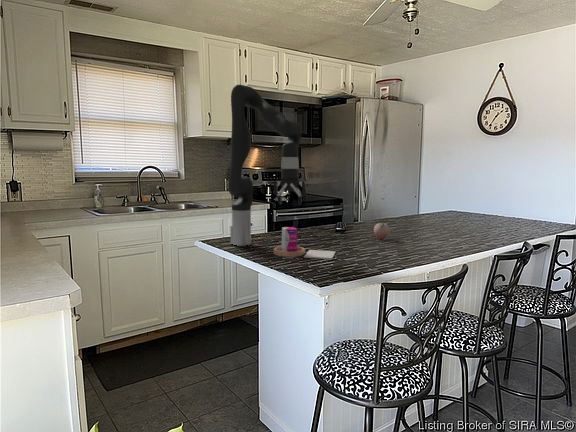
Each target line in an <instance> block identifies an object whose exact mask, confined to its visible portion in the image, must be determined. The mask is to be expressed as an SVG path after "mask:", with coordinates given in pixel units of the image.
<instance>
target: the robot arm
mask: <svg viewBox="0 0 576 432" xmlns="http://www.w3.org/2000/svg"><path fill="white" fill-rule="evenodd" d="M230 105H231V139H230V141H231V142H230V165H229V172H228V173H229V174H228V180H227V189H228V192H229V194H230V195H231V196H232V197H237V200H236V201H234V202H233V203H232V204H231V225H230V227H229V228H230V232H229V233H230V245H231V244H233V245H232V246H234V245H237V247H246V245H248V246H250V244H251V245H252V217H251V216H252V210H251V209H252V205H253V198H254V197H253V194H254V186H253V185H254V184H253V181H252V179H251V178H250V177H248V176H242V171H243V166H244V164H245V162H246V160H247V158H248V156H249V154H250V152H251V145H252V135H251V130H250V129H249V128H250V127H249V125H248V123H247V121H246V120H247V119H246V116H245V107H248V108H251V109H253V110H255V111H257V112H258V113H259V115H260V116H261V118H262V119H263V120H264V122H266V123H267V124H269V125H270V126H272V127H273V128H274V130H275V131H276V132H277V133H278V135H280V136H281V137H284V138H287V141H286V143H283V145H282V146H281V163H280V164H281V165H280V166H281V167H280V170H281V171H280V172H281V174H280V175H281V176H280V179H281V180H280V181H279V180H274V181H273V191H272V192H273V195H276V196H277V204H278V205H279V206H280V205H282V204H283V203H282V201H283V200H282V197H283V196H282V195H283V194H284V192H289V191H290V192H295V194H296V195H297V206H301V204H302V203H303V198H302V197H304V196H305V195H307V182H306V181H305V180H304V181H299V177H300V176H299V171H300V170H299V167H300V165H299V145H300V142H301V138H302V133H303V130H302V126H301V124H300V123H299V122H298V121H293V120H292V121H291V120H289V119H287V118H286V117H285V114H283V113H282V112H281V111H279V110H278V109H277V108H275V107H274V106H272V104H270V103H268V102H267V101H266V100H265V99H264V98H263V97H262V95H260V94H259V93H258V91H257V90H256V89H255V88H253V87H252V86H247V85H245V84H235V85H234V86H233V87H232V89H231V94H230ZM280 185H281V189H280V190H279V186H280ZM299 185H300V187H301V188H302V189H301V190H302V191H301V190H300V189H299V188H298V187H299ZM278 190H279V191H278Z"/></svg>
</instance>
